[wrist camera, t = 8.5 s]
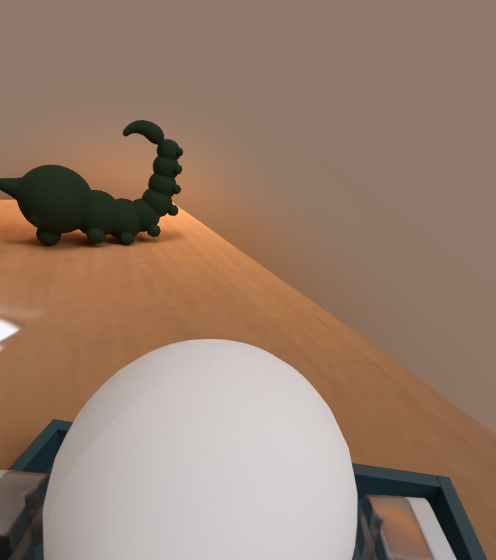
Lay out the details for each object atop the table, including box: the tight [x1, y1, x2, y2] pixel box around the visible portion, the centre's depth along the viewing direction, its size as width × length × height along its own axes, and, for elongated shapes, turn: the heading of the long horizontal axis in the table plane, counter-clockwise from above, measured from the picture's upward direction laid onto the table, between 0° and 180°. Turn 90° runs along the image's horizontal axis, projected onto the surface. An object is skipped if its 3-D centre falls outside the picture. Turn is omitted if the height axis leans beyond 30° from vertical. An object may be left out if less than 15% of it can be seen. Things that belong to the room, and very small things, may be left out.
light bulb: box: [43, 339, 357, 560], centre depth 9 cm, size 7×7×11 cm
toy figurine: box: [0, 120, 183, 245], centre depth 53 cm, size 9×19×25 cm
